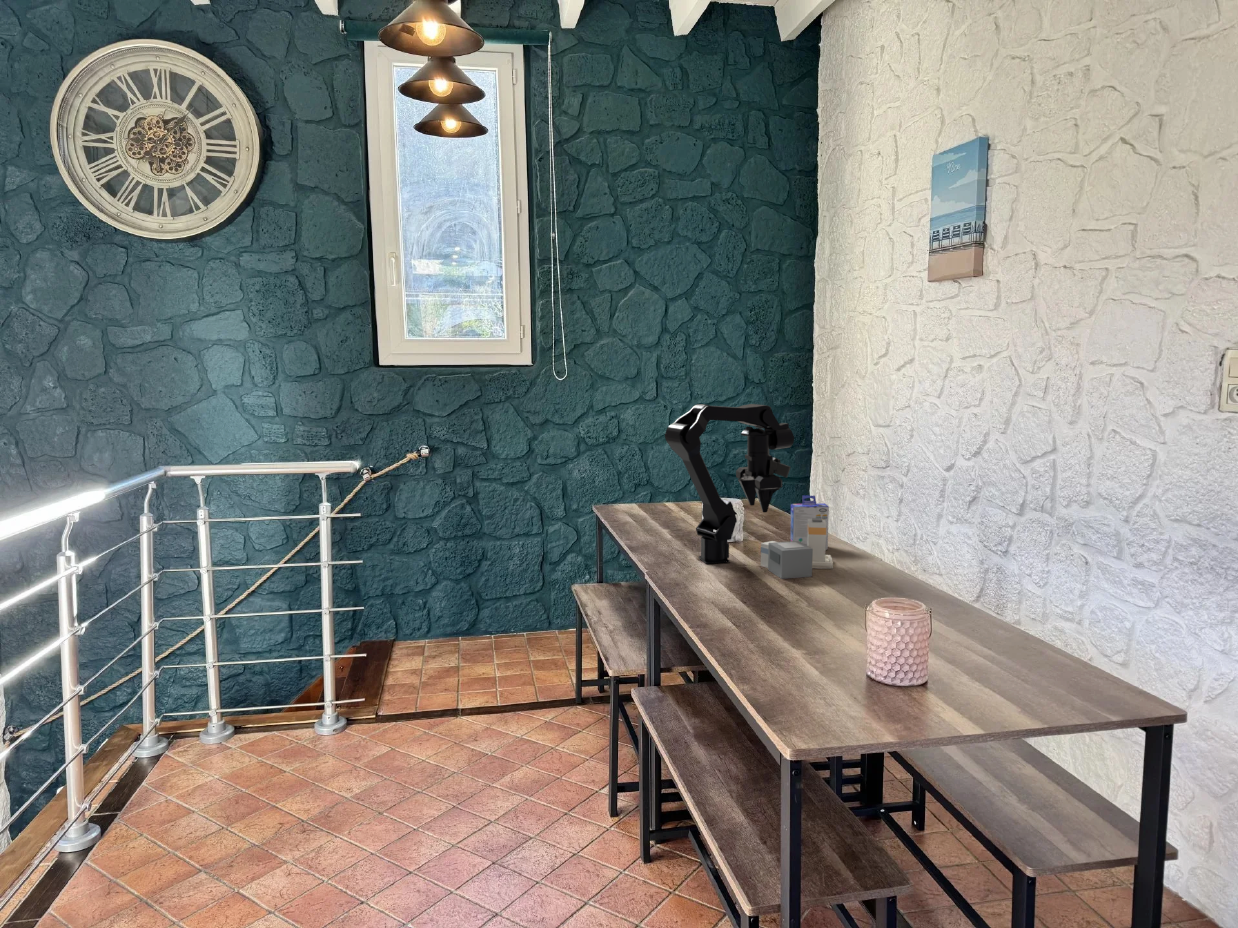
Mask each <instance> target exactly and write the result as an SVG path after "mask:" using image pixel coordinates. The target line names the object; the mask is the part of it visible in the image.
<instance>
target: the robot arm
mask: <svg viewBox="0 0 1238 928" xmlns="http://www.w3.org/2000/svg"><path fill="white" fill-rule="evenodd" d="M710 421H723V422H724V421H725V422H738V423H741V424H743V425H744V424H745V425H748V426H746V427H745V429H743V430H742V432H741V433H740V436H743V437H747V454H744V459H746V460H747V466H741V467H738V468H737V469H736V470H735V475H736V478H737V480H738V482H739V485H740V487H741V489H742V490H743V492H744V495H745V497H746V499H747V501H748V504H749V505H750V506H751V507H753V506H755V504H756V496H757V498H758V502H759V505H760V508H761V511H762V513H764V514H765V513H768V510H769V507H770V504H771V501H772V498H773V495H774V494H775V493H776V492H777V491H779V490H781V488H783V479H782V478H781V477H780V476H782V477H783V478H788V476H789V473H790V470H791V466H790V465H786V464H785V463H781V462H782V461H781V459H779V458H777V457H773V455H772V454H771V455H770V450H773V451H774V450H780V449H788V448H791V447H792V446H793V444H794V442H795V436H794V433H793V430H792V429H791V428H790V424H789V423H787V422H780V423H779V421H778V420H777V418H776V417H775V415H774V412H773V409H772V407H771V406H770V405H766V404H756V403H749V404H743V405H740V406H724V405H723V406H719V405H710V404H701V403H697V404H695V405H694V406H692V408H691V409H690V410H689V411H687V412H686V413H684V414H683V415H681V416H680V417H678V418H676V420H675V421H674V422H673V423H671V424H670V425H668V426H667V428H666V430H665V433H664V439H665V441H666V443H667V445H668V446H669V447H670V449H671V450H672V451H673V452H674V454H676V455H677V456H679V458H680V459H681V460H682V462H683V464H684V466H685V468H686V471H687V472H688V475H689V478H690V479H691V481H692V484H693V486H694V488H695V490H696V492H697V494H698V497H699V499H700V501H701V504H702V511H701V514H702V519H701V520H700V522H699V523H698V525H697V526H696V528H695V530H696V534H697V536H699V537H700V555H698V559H699V560H701V561H702V562H703V563H704V564H706V565H710V564H711V565H712V564H723V563H730V543H729V542H728V541H730V540H732V537H733V535H734V530H735V527H736V524H737V522H738V520H737V516H736V515H738V513H737V511H735V509H734V506H733V505H734V504H733V502H732V501H730V500H727V499H723V498H721V496H720V494H719V492H718V490H717V487H716V485H715V483H714V481H713V479H712V476H711V475H710V472H709V470H708V468H707V465H706V463H705V461H704V458H703V457H702V455H701V445H702V442H701V436H702V435H703V434H705V432H706V428H707V426H708V423H710ZM752 426H754V428H753V427H752ZM777 475H779V476H777Z"/></svg>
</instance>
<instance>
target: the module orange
mask: <svg viewBox="0 0 1238 928" xmlns="http://www.w3.org/2000/svg"><path fill="white" fill-rule="evenodd" d="M807 531H808V536H807V546H809V547H811V548H813V557H812V562H825V555H826V550H825V548H826V521H825V520H822V518H812V519H808V528H807Z"/></svg>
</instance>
